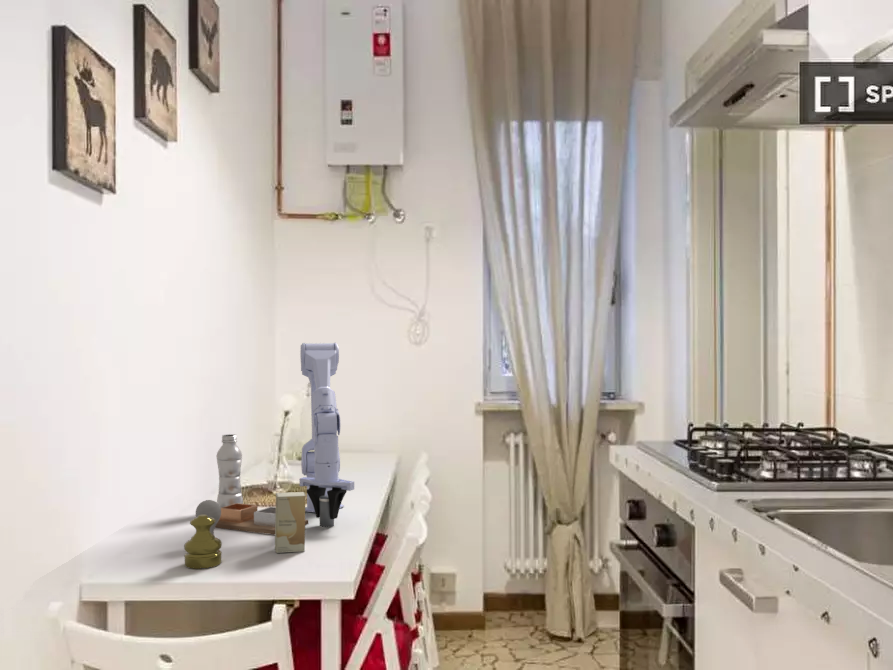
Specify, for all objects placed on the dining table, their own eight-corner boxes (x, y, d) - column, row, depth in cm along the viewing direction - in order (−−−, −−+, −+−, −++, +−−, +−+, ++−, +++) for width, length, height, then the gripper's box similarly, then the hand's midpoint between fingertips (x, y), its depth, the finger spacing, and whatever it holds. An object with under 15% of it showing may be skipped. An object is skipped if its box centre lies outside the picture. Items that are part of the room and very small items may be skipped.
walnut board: (236, 515, 211) (236, 511, 211) (308, 524, 202) (308, 519, 202) (204, 526, 200) (204, 522, 200) (278, 535, 191) (278, 531, 191)
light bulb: (211, 540, 187) (211, 496, 186) (226, 544, 183) (226, 499, 183) (190, 545, 182) (190, 500, 182) (205, 549, 179) (204, 503, 179)
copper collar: (236, 515, 208) (236, 503, 208) (257, 517, 205) (257, 505, 205) (219, 520, 202) (219, 508, 202) (240, 523, 199) (240, 510, 199)
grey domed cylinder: (324, 523, 203) (324, 494, 203) (337, 524, 201) (337, 496, 201) (316, 526, 200) (316, 497, 199) (329, 527, 198) (329, 498, 198)
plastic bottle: (236, 514, 213) (235, 437, 213) (212, 513, 214) (211, 436, 214) (247, 509, 219) (246, 434, 219) (223, 508, 220) (223, 433, 220)
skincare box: (275, 553, 175) (275, 496, 175) (274, 548, 180) (274, 492, 179) (306, 551, 177) (306, 494, 177) (304, 546, 181) (304, 490, 181)
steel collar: (270, 518, 203) (270, 506, 203) (292, 521, 201) (292, 509, 201) (254, 524, 198) (253, 512, 198) (276, 527, 195) (276, 514, 195)
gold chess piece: (225, 558, 172) (225, 511, 172) (216, 569, 164) (216, 519, 164) (189, 559, 172) (189, 511, 172) (179, 569, 164) (179, 519, 164)
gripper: (292, 462, 200) (292, 518, 200) (343, 466, 194) (343, 524, 194) (308, 458, 206) (309, 512, 206) (358, 461, 200) (359, 517, 200)
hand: (326, 517), depth 200 cm, fingers closed on grey domed cylinder, 3 cm apart
